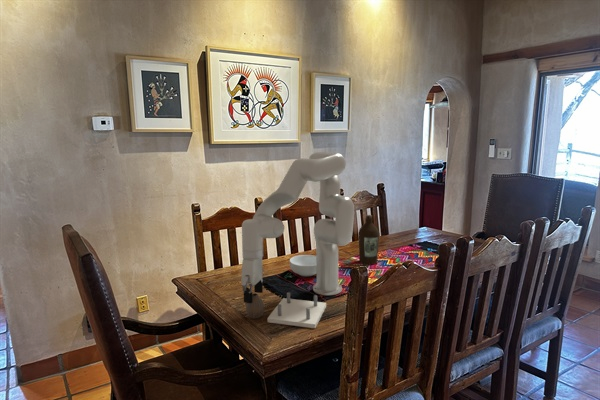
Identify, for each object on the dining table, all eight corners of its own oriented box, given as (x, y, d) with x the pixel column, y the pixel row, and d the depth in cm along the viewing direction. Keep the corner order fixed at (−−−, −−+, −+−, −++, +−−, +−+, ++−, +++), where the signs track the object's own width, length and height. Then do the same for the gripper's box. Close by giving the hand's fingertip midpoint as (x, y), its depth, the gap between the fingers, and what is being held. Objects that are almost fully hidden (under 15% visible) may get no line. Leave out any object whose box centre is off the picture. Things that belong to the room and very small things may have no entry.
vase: (265, 311, 152) (264, 290, 151) (264, 320, 146) (263, 298, 144) (247, 312, 152) (246, 291, 151) (245, 321, 145) (244, 298, 144)
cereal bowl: (321, 281, 182) (321, 266, 181) (286, 279, 186) (285, 264, 184) (326, 268, 199) (326, 255, 197) (294, 266, 202) (293, 253, 201)
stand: (283, 301, 161) (282, 288, 160) (326, 306, 156) (326, 293, 155) (267, 322, 144) (267, 308, 143) (315, 328, 139) (315, 313, 138)
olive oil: (355, 259, 212) (356, 213, 207) (374, 258, 213) (375, 212, 209) (361, 265, 201) (362, 218, 197) (381, 264, 203) (382, 217, 198)
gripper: (252, 246, 153) (253, 287, 156) (233, 259, 137) (234, 305, 140) (270, 247, 151) (271, 289, 154) (252, 261, 135) (253, 308, 138)
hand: (253, 297), depth 147 cm, fingers open, 9 cm apart
